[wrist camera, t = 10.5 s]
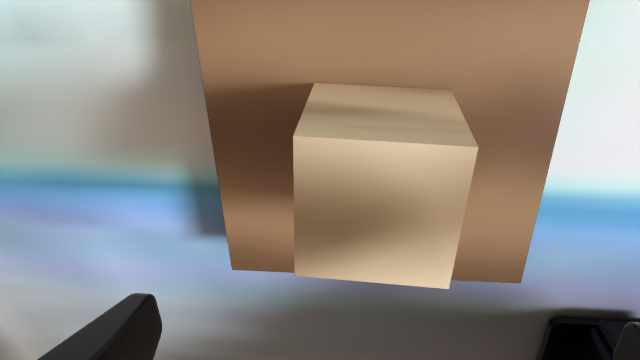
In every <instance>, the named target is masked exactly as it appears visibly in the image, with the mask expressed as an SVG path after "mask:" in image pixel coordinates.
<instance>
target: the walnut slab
mask: <svg viewBox="0 0 640 360" xmlns="http://www.w3.org/2000/svg"><path fill="white" fill-rule="evenodd" d="M589 1H590V0H190V2H191V9H192V15H193V22H194V28H195V35H196V41H197V47H198V54H199V60H200V67H201V73H202V80H203V86H204V92H205V99H206V105H207V112H208V118H209V125H210V131H211V137H212V144H213V150H214V157H215V163H216V170H217V176H218V182H219V189H220V195H221V202H222V208H223V215H224V221H225V227H226V234H227V240H228V247H229V253H230V260H231V266H232V270H249V271H270V272H291V273H295V266H294V171H293V135H294V133H295V130H296V128H297V125H298V123H299V120H300V118H301V115H302V113H303V110H304V108H305V105H306V103H307V100H308V98H309V95H310V93H311V90H312V88H313V85H314V83H326V84H346V85H366V86H386V87H405V88H425V89H445V90H451V91H452V93H453V95H454V97H455V99H456V101H457V103H458V105H459V107H460V110H461V112H462V114H463V116H464V118H465V120H466V122H467V124H468V126H469V128H470V131H471V133H472V135H473V137H474V139H475V141H476V143H477V145H478V152H477V157H476V161H475V166H474V171H473V176H472V181H471V185H470V190H469V195H468V200H467V205H466V209H465V214H464V219H463V224H462V229H461V233H460V238H459V243H458V248H457V253H456V257H455V262H454V267H453V272H452V277H451V280H460V281H481V282H502V283H521V279H522V275H523V271H524V267H525V263H526V259H527V255H528V251H529V247H530V243H531V238H532V234H533V230H534V226H535V222H536V218H537V214H538V210H539V206H540V202H541V197H542V193H543V189H544V185H545V181H546V177H547V173H548V169H549V165H550V161H551V157H552V152H553V148H554V144H555V140H556V136H557V132H558V128H559V124H560V120H561V116H562V111H563V107H564V103H565V99H566V95H567V91H568V87H569V83H570V79H571V75H572V71H573V66H574V62H575V58H576V54H577V50H578V46H579V42H580V38H581V34H582V30H583V26H584V21H585V17H586V13H587V9H588V5H589Z"/></svg>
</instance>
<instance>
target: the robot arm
mask: <svg viewBox="0 0 640 360" xmlns="http://www.w3.org/2000/svg"><path fill="white" fill-rule="evenodd" d="M559 327H561V328H559ZM161 333H162V321H161V317H160V314H159V310H158V306H157V302H156V299H155V297H154V296H153V295H151V294H142V293H134V294H131V295H129V296H128V297H126V298H125V299H123V300H122V301H121V302H119V303H118V304H116V305H115V306H113V307H112V308H111V309H109V310H108V311H106V312H105V313H103V314H102V315H100V316H99V317H98V318H96V319H95V320H93V321H92V322H90V323H89V324H88V325H86V326H85V327H83V328H82V329H80V330H79V331H77V332H76V333H75V334H73V335H72V336H70V337H69V338H67V339H66V340H65V341H63V342H62V343H60V344H59V345H57V346H56V347H55V348H53V349H52V350H50V351H49V352H47V353H46V354H44V355H43V356H42V357H40V358H39V359H37V360H153V358H154V355H155V352H156V349H157V346H158V343H159V340H160V337H161ZM537 360H640V321H626V320H609V319H592V318H576V317H555V318H553V319H551V320H550V321H549V323H548V326H547V329H546V332H545V335H544V338H543V342H542V345H541V348H540V351H539V354H538V358H537Z"/></svg>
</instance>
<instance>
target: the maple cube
mask: <svg viewBox="0 0 640 360" xmlns="http://www.w3.org/2000/svg"><path fill="white" fill-rule="evenodd" d="M477 152H478V145H477V143H476V141H475V139H474V137H473V135H472V133H471V131H470V128H469V126H468V124H467V122H466V120H465V118H464V116H463V114H462V112H461V110H460V107H459V105H458V103H457V101H456V99H455V97H454V95H453V93H452V91H451V90H445V89H425V88H405V87H386V86H366V85H346V84H326V83H314V85H313V88H312V90H311V93H310V95H309V98H308V100H307V103H306V105H305V108H304V110H303V113H302V115H301V118H300V120H299V123H298V125H297V128H296V130H295V133H294V135H293V171H294V266H295V276H304V277H316V278H327V279H339V280H350V281H362V282H373V283H385V284H396V285H408V286H419V287H430V288H442V289H449V286H450V281H451V277H452V272H453V267H454V262H455V257H456V253H457V248H458V243H459V238H460V233H461V229H462V224H463V219H464V214H465V209H466V205H467V200H468V195H469V190H470V185H471V181H472V176H473V171H474V166H475V161H476V157H477Z"/></svg>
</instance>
